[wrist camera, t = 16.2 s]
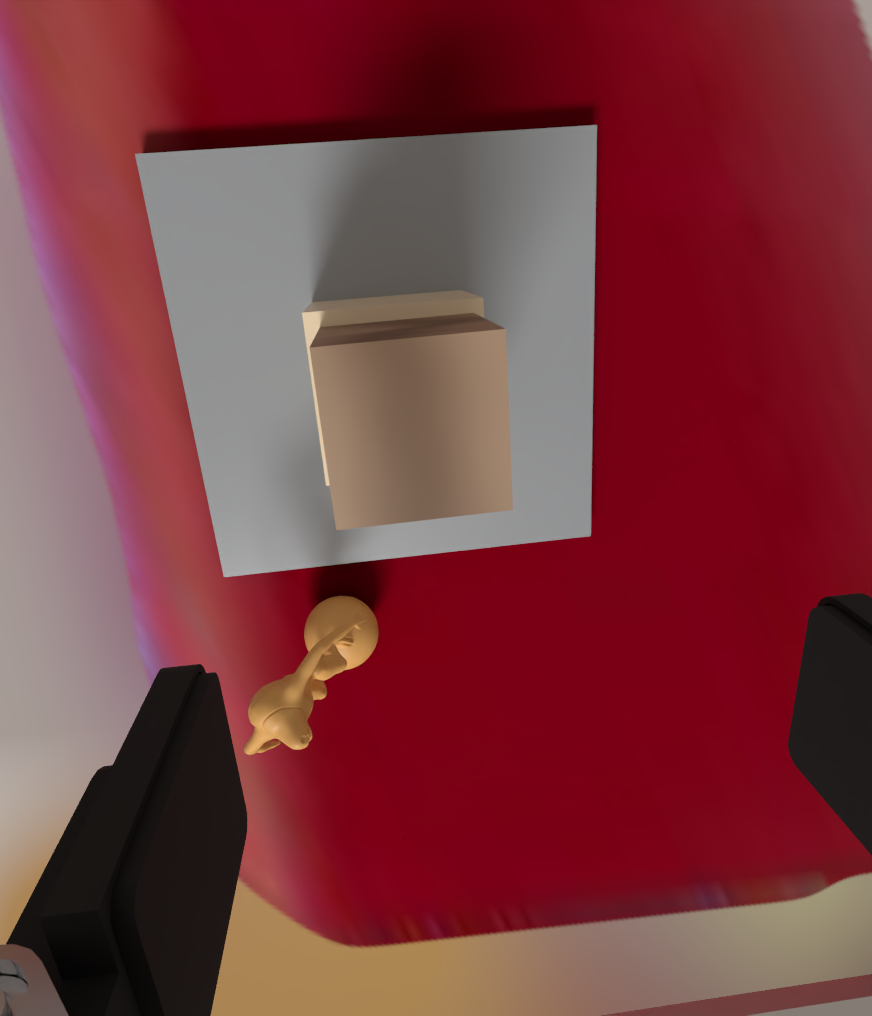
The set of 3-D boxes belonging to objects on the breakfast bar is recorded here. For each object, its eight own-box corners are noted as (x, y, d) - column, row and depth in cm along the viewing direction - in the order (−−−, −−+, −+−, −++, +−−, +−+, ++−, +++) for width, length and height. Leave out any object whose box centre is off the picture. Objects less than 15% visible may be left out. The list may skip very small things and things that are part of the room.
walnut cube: (473, 312, 26) (505, 328, 20) (482, 459, 28) (513, 510, 23) (319, 327, 26) (309, 347, 20) (340, 474, 28) (336, 530, 22)
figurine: (334, 681, 39) (326, 850, 28) (243, 638, 38) (195, 798, 27) (411, 574, 38) (433, 709, 26) (318, 522, 36) (300, 643, 25)
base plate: (589, 128, 30) (652, 94, 24) (585, 528, 38) (632, 586, 31) (142, 156, 29) (79, 128, 22) (227, 568, 36) (198, 637, 30)
